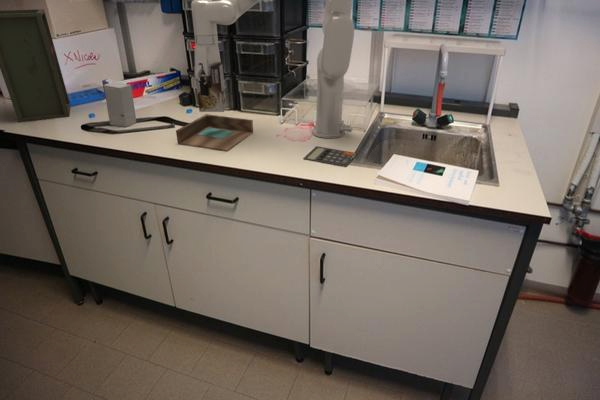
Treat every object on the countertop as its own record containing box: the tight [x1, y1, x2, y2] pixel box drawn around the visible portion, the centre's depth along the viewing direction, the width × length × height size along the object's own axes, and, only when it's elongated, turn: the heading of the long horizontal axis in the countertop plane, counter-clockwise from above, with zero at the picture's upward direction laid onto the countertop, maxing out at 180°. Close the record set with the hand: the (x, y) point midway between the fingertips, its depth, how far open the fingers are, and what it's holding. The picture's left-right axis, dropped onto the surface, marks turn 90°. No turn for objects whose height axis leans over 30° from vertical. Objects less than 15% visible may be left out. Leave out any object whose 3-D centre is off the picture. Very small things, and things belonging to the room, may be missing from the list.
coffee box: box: [193, 62, 228, 113], centre depth 146 cm, size 9×6×16 cm
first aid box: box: [0, 8, 71, 123], centre depth 167 cm, size 18×18×40 cm
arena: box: [175, 113, 254, 152], centre depth 150 cm, size 20×20×5 cm
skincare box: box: [103, 81, 137, 128], centre depth 162 cm, size 8×7×16 cm
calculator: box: [302, 145, 355, 168], centre depth 137 cm, size 12×1×15 cm
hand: (211, 92), depth 147 cm, fingers closed on coffee box, 7 cm apart
